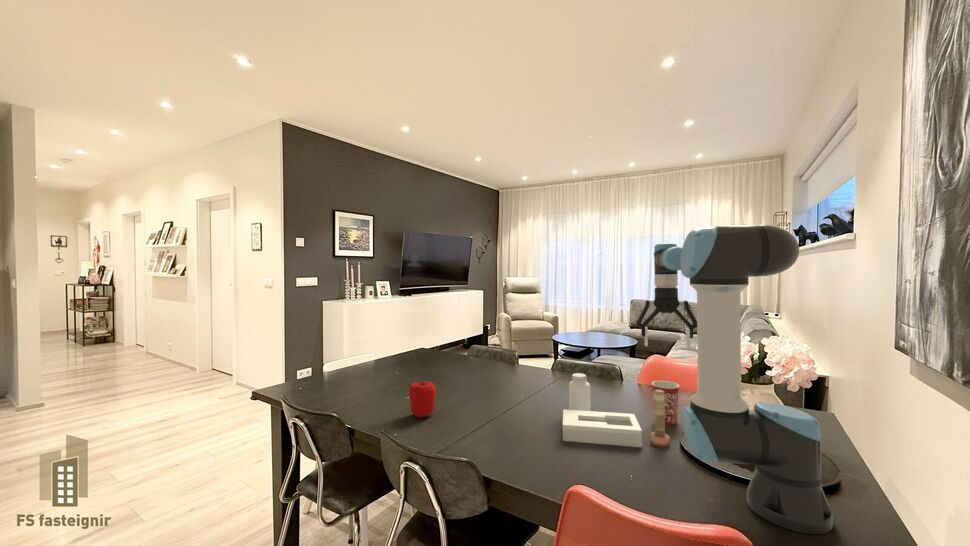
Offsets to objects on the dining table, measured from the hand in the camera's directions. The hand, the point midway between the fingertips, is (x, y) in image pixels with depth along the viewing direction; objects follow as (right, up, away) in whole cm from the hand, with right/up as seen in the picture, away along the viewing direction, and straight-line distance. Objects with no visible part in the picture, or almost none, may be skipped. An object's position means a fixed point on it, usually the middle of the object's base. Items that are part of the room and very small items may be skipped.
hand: (666, 346), depth 135 cm
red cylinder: (-89, -29, +10) cm, 94 cm away
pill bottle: (-28, -28, +10) cm, 41 cm away
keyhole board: (-27, -28, -9) cm, 39 cm away
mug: (+2, -28, +4) cm, 28 cm away
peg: (-10, -28, -15) cm, 33 cm away
